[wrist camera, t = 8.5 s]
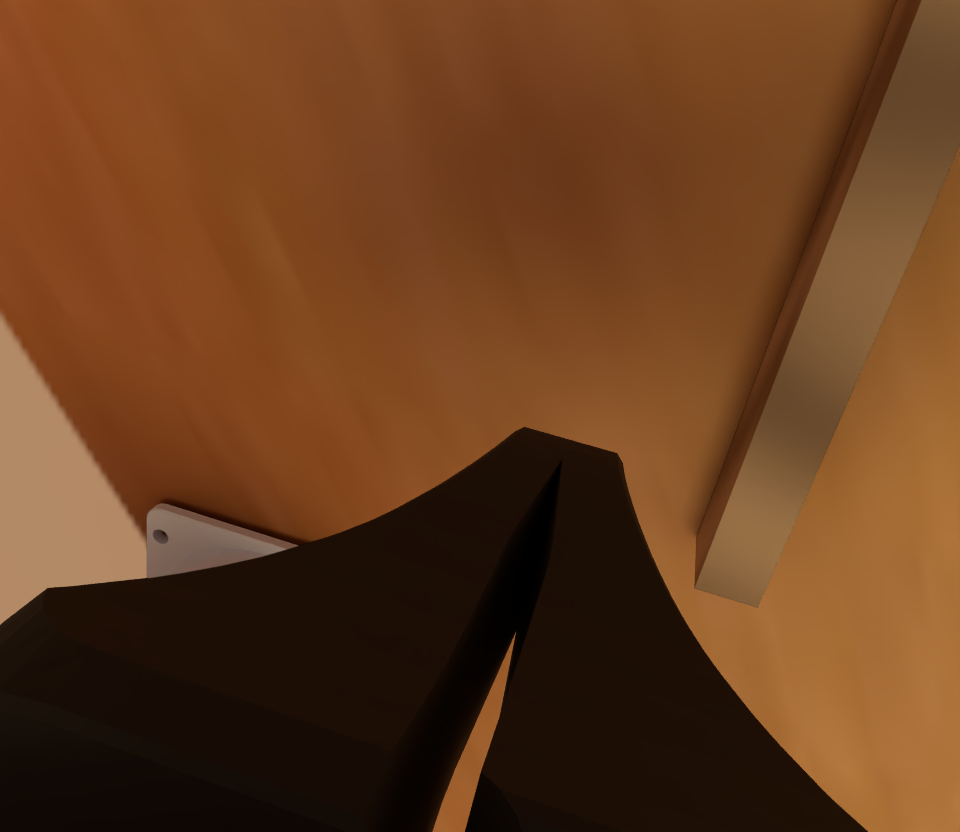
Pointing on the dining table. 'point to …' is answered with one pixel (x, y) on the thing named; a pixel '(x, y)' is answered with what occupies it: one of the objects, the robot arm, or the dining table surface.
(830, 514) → the dining table surface
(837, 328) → the flange channel
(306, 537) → the dining table surface
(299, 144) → the dining table surface
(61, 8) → the dining table surface
